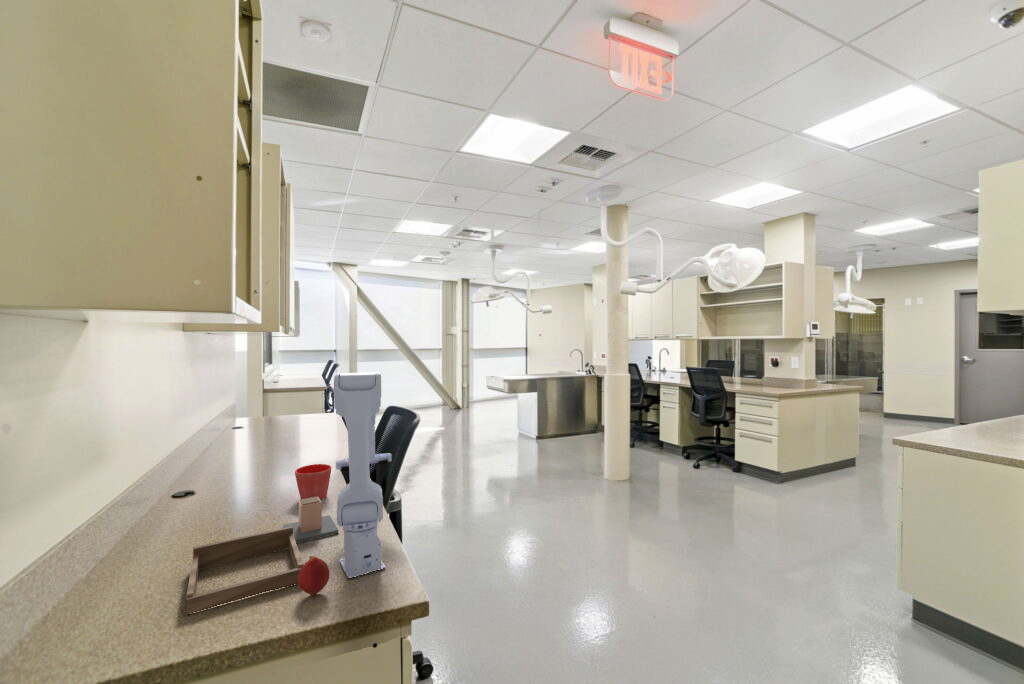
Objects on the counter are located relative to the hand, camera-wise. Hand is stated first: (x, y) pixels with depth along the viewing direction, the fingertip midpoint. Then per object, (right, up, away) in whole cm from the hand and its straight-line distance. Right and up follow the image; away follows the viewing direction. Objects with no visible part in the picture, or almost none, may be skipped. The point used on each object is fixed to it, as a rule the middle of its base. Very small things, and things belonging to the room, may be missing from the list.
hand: (364, 491), depth 120 cm
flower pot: (-25, -11, +23) cm, 35 cm away
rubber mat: (-14, -10, -2) cm, 17 cm away
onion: (+1, -10, -32) cm, 33 cm away
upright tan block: (-14, -9, -2) cm, 17 cm away
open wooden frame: (-17, -10, -25) cm, 32 cm away
